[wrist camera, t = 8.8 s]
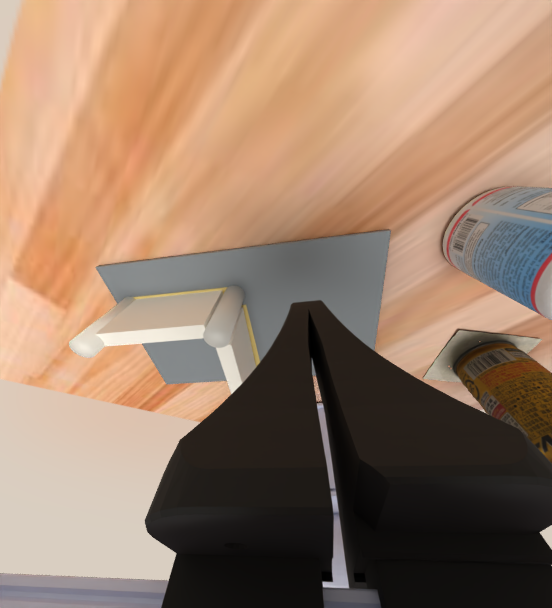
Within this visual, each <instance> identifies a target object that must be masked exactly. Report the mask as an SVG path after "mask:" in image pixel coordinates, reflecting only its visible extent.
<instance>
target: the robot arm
mask: <svg viewBox="0 0 552 608" xmlns="http://www.w3.org/2000/svg"><path fill="white" fill-rule="evenodd" d="M312 360H313V365H314V369H315V373H316V377H317V382H318V386H319V390H320V394H321V398H322V403H317V402H316V396H315V389H314V383H313V376H312ZM145 524H146V528H147V532H148V533H149V534H150V535H151V536H152V537H153V538H155V539H156V540H158V541H159V542H161V543H162V544H164V545H165V546H167V547H168V548H170V549H171V550H173V551H174V552H176V553H177V554H176V557H175V561H174V564H173V568H172V572H171V575H170V579H169V581H167V580H144V579H143V580H142V579H120V578H97V577H73V576H50V575H26V574H4V573H0V608H552V566H551V565H552V550H551V548H550V547H549V545H548V544H547V543H546V541H545V540H544V538H543V537H542V535H541V534H540V533H539V532H541V531H542V530H544V529H546V528H547V527H549V526H550V525H552V463H551V462H550V461H549V460H548V459H547V458H546V457H545V455H544V454H543V453H542V452H541V451H540V450H539V449H538V448H537V447H536V446H535V445H534V444H533V443H532V442H531V441H530V440H529V439H528V438H527V437H526V436H525V435H524V434H523V433H522V432H521V431H520V430H519V429H518V428H516V427H514V426H512V425H510V424H507V423H505V422H503V421H501V420H499V419H497V418H495V417H492V416H490V415H488V414H486V413H484V412H482V411H480V410H477V409H475V408H473V407H471V406H469V405H467V404H465V403H462V402H460V401H458V400H456V399H454V398H452V397H450V396H449V395H447V394H445V393H443V392H441V391H439V390H437V389H435V388H433V387H431V386H430V385H428V384H426V383H424V382H422V381H421V380H419V379H417V378H415V377H414V376H412V375H410V374H409V373H407V372H405V371H404V370H402V369H400V368H399V367H397V366H396V365H394V364H392V363H391V362H389V361H388V360H386V359H385V358H383V357H382V356H380V355H379V354H378V353H376V352H375V351H374V350H372V349H371V348H370V347H368V346H367V345H366V344H365V343H363V342H362V341H361V340H360V339H359V338H357V337H356V336H355V335H354V334H353V333H352V332H351V331H350V330H349V329H347V328H346V327H345V326H344V325H343V324H342V323H341V322H340V321H339V320H338V319H337V317H336V316H335V315H334V314H333V313H332V312H331V311H330V310H329V309H328V307H327V306H326V305H325V304H324V302H323V301H321V300H316V301H305V302H295V303H292V304H291V305H290V310H289V313H288V315H287V318H286V320H285V322H284V324H283V326H282V328H281V330H280V332H279V334H278V336H277V337H276V339H275V341H274V342H273V344H272V346H271V347H270V349H269V350H268V352H267V353H266V355H265V356H264V357H263V359H262V360H261V362H260V363H259V364H258V365H257V367H256V368H255V369H254V370H253V371H252V373H251V374H250V375H249V376H248V377H247V379H246V380H245V381H244V382H243V383H242V384H241V385H240V386H239V387H238V388H237V389H236V390H235V391H234V392H233V393H232V394H231V395H230V396H229V397H228V398H227V399H226V400H225V401H224V402H223V403H222V404H221V405H220V406H219V407H218V408H217V409H216V410H215V411H214V412H213V413H211V414H210V415H209V416H208V417H207V418H206V419H204V420H203V421H202V422H201V423H200V424H199V425H197V426H196V427H195V428H194V429H193V430H192V431H190V432H189V433H188V434H187V435H186V436H184V437H183V438H182V439H180V441H179V443H178V445H177V447H176V449H175V451H174V453H173V455H172V457H171V459H170V461H169V463H168V465H167V468H166V470H165V472H164V474H163V477H162V479H161V482H160V484H159V487H158V489H157V492H156V494H155V497H154V499H153V501H152V504H151V507H150V509H149V512H148V514H147V516H146V519H145Z"/></svg>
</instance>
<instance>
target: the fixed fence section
mask: <svg viewBox="0 0 552 608" xmlns="http://www.w3.org/2000/svg"><path fill="white" fill-rule="evenodd" d="M244 297H245V293H244V291H243V290H242V288H240V287H238V286H235V285H232V286H229V287H228V288H227V289H226V290H225V292H224V294H223V291H222V290H219V291H209V292H200V293H190V294H181V295H171V296H161V297H152V298H142V299H135V298H133V297H126V298H125V299H123V300H122V301H121V302H119V303H118V304H117V305H116V306H114V307H113V308H112V309H110V310H109V311H108V312H107V313H105V314H104V315H103V316H102V317H100V318H99V319H98V320H96V321H95V322H94V323H93V324H91V325H90V326H89V327H87V328H86V329H85V330H84V331H82V332H81V333H80V334H79V335H77V336H76V337H75V338H73V339H72V340H71V341H70V342H69V346H70V348H71V349H72V351H74V352H75V353H76V354H78V355H80V356H82V357H87V358H91V357H94V356H95V355H96V354H97V353H98V352H99V351H100V350H101V349H102V348H103V347H105V346H116V345H128V344H140V343H153V342H165V341H177V340H190V339H202V338H204V340H205V342H206V343H207V344H208V345H210V346H212V347H216V348H222V347H225V346H227V345H228V344H229V342H230V339H231V336H232V333H233V330H234V327H235V324H236V321H237V318H238V315H239V312H240V309H241V306H242V303H243V300H244Z"/></svg>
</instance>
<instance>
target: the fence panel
mask: <svg viewBox="0 0 552 608" xmlns="http://www.w3.org/2000/svg"><path fill="white" fill-rule="evenodd" d="M216 350H217V353H218V356H219V359H220V362H221V365H222V368H223V371H224V374H225V377H226V380H227V383H228V386H229V388H230V391H231V394H232V393H233V392H234V391H235V390H236V389H237V388H238V387H239V386H240V385H241V384H242V383H243V382H244V381H245V380H246V379H247V377H248V376H249V375H250V374H251V373H252V371H253V370H254V369H255V368H256V364H255V359H254V355H253V350H252V346H251V341H250V337H249V332H248V328H247V323H246V319H245V314H244V310H243V307H241V309H240V312H239V315H238V318H237V321H236V324H235V327H234V330H233V333H232V336H231V339H230V342H229V344H228V345H227V346H225V347H222V348H216Z"/></svg>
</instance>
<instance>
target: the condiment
mask: <svg viewBox="0 0 552 608" xmlns="http://www.w3.org/2000/svg"><path fill="white" fill-rule="evenodd" d="M541 340H542V339H536V338H529V337H519V336H513V335H501V334H490V333H483V332H469V331H462V330H459V331H458V332H457V333H456V335H455V336H454V337H452V339H451V340H450V341H449V343H448V344H447V346H446V347H445V348H444V349H443V350H442V352H441V353H440V355H439V356H438V357H437V358H436V359H435V361H434V363H433V365H432V366H431V368H430V369H429V370H428V372H427V373H426V375H425V376H424V378H423V379H429V380H438V381H448V382H462V383H463V384H464V386H465V387H466V388H468V391H469V392H470V393H471V394H472V395H473V397H474V398H475V399H476V400H477V401H478V402H479V403H480V405H481V406H482V407H483V409H484V410H485V412H486V413H487V414H489V415H490V416H492V417H495V418H497V419H499V420H501V421H503V422H505V423H507V424H510V425H512V426H514V427H516V428H518V429H519V430H520V431H521V432H522V433H523V434H524V435H525V436H526V437H527V438H528V439H529V440H530V441H531V442H532V443H533V444H534V445H535V446H536V447H537V448H538V449H539V450H540V451H541V452H542V453H543V454H544V455H545V457H546V458H547V459H548V460H549V461H550V462H551V463H552V373H551V372H550V371H548V370H547V369H545V368H544V367H543V366H542V365H540V364H539V363H538V362H536V361H535V360H534V359H532V358H531V357H530V356H529V355H527V353H528V352H530V351H531V350H532V349H533V348H534V347H535V346H536V345H537V344H538V343H539V342H540V341H541ZM479 341H481V342H479ZM448 365H450V367H451V368H452V369H450V368H449V367H448Z"/></svg>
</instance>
